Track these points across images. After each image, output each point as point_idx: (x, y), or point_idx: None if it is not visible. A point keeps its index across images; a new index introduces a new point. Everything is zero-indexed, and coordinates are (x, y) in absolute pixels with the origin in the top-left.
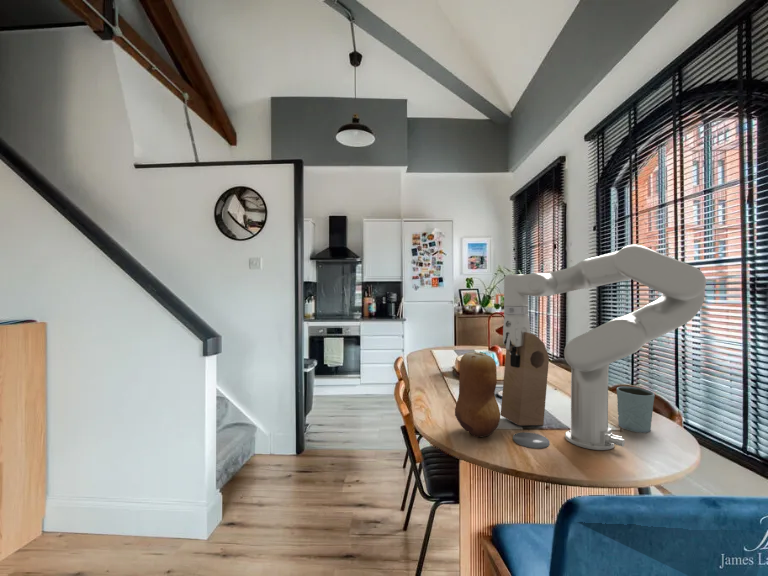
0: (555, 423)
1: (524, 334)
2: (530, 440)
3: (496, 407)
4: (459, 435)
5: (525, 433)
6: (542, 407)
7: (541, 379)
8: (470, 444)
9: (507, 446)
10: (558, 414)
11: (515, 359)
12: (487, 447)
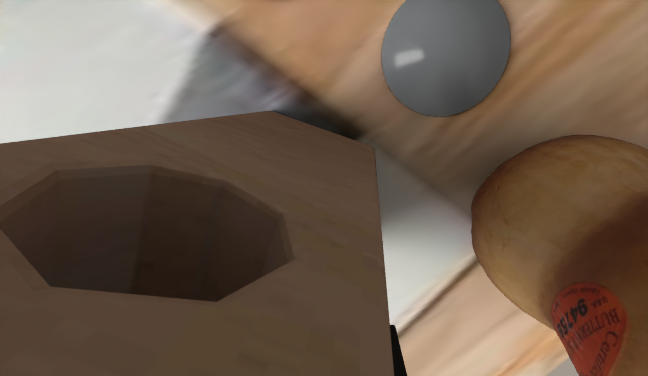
0: (212, 94)
1: None
2: (459, 45)
3: (604, 161)
4: None
5: (412, 95)
6: (258, 117)
7: (216, 140)
8: None
9: (548, 77)
10: None
11: (404, 371)
12: (603, 113)
